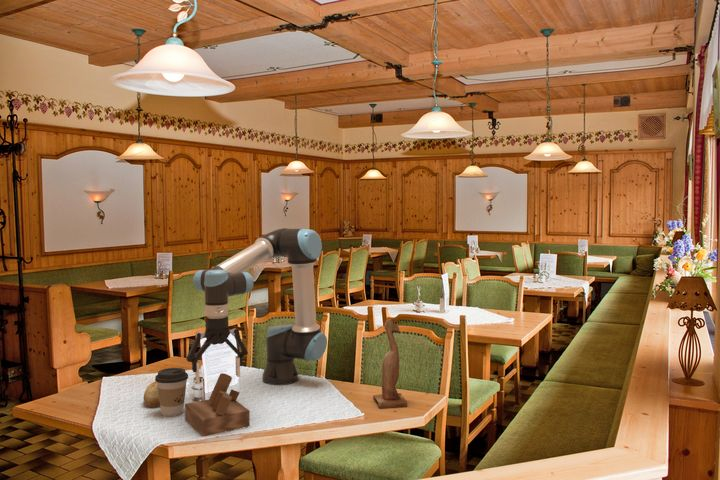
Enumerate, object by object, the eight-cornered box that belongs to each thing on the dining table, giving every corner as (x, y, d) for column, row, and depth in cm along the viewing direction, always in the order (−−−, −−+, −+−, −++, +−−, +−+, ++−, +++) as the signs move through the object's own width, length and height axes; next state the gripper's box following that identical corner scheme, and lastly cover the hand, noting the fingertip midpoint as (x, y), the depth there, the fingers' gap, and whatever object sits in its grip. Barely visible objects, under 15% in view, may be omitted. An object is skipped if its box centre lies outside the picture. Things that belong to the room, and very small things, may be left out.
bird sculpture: (409, 407, 219) (412, 321, 218) (378, 409, 216) (382, 322, 215) (399, 398, 230) (402, 316, 229) (370, 399, 227) (373, 316, 226)
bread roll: (179, 396, 229) (179, 375, 229) (164, 409, 214) (164, 387, 214) (155, 395, 230) (155, 375, 229) (138, 408, 215) (138, 387, 214)
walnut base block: (229, 412, 213) (229, 395, 213) (249, 428, 198) (249, 410, 198) (185, 420, 204) (185, 403, 204) (202, 438, 189) (202, 419, 189)
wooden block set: (226, 423, 192) (239, 394, 192) (201, 413, 192) (214, 384, 191) (235, 402, 210) (246, 376, 210) (212, 393, 209) (223, 367, 209)
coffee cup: (175, 420, 203) (174, 377, 202) (148, 416, 207) (147, 373, 206) (195, 409, 214) (195, 368, 213) (169, 405, 218) (168, 365, 217)
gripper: (180, 322, 190) (182, 387, 191) (256, 315, 201) (257, 376, 203) (176, 317, 196) (177, 380, 198) (249, 311, 208) (250, 370, 209)
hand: (218, 378), depth 200 cm, fingers open, 13 cm apart
